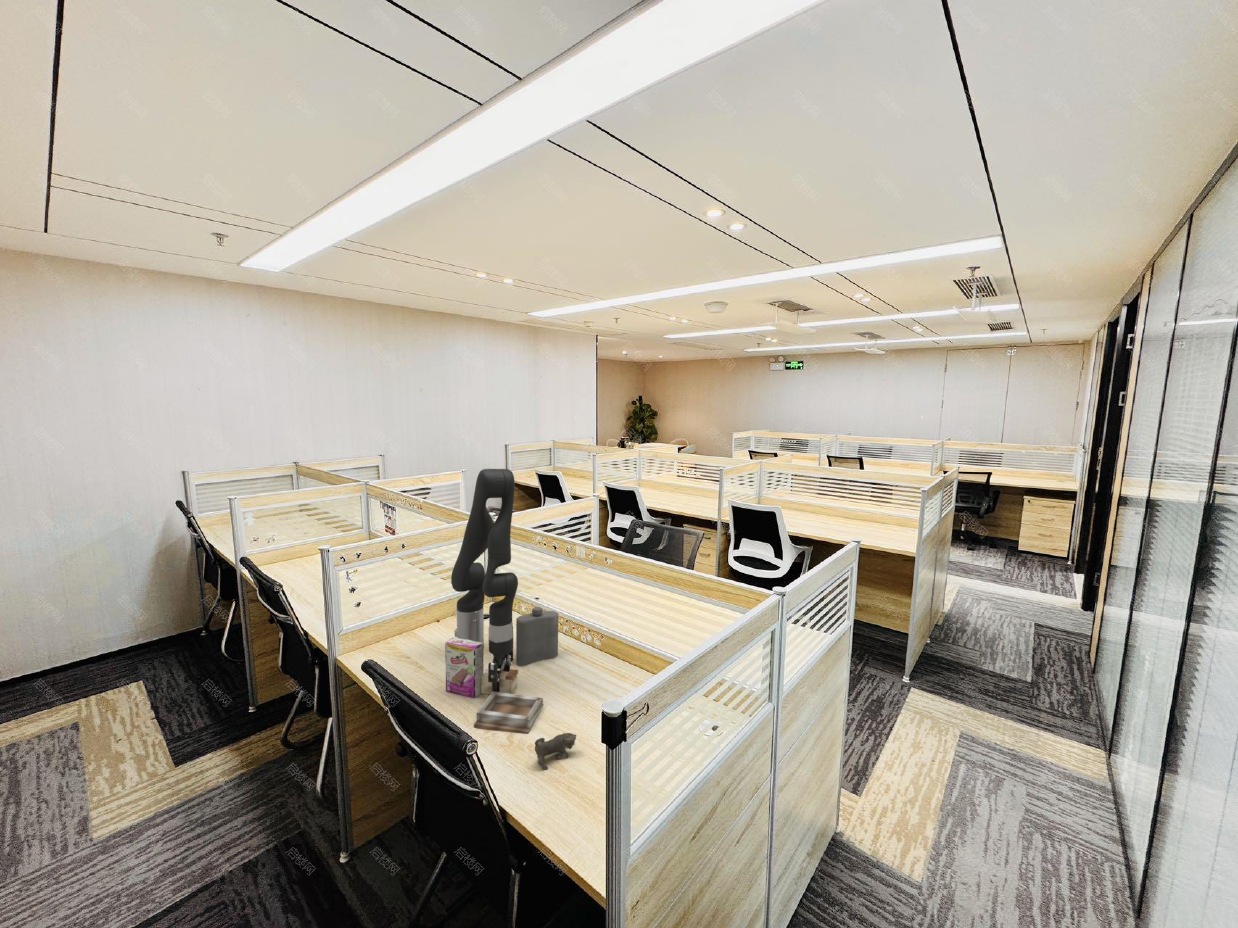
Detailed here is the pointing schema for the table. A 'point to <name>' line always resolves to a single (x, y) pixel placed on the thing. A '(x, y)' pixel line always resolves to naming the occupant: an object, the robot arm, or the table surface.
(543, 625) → the flask
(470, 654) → the candy bar box
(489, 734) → the table surface
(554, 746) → the dog figurine
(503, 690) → the fuselage block
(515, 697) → the tray
